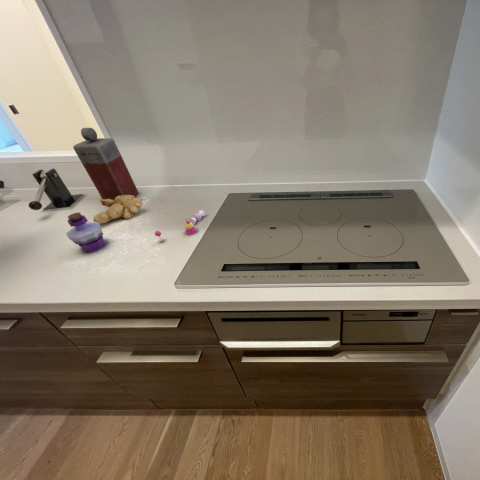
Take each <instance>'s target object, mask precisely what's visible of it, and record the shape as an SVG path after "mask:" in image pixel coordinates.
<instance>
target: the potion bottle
mask: <svg viewBox="0 0 480 480" xmlns="http://www.w3.org/2000/svg"><path fill="white" fill-rule="evenodd" d="M67 219H68V220H67V223H68V224H69V226H70V227H72V228H71V229H70V230H68V231H67V232H66V233H65V234H66V236H67V238H68V239H69V240H70V241H71V242H73V243H74V244H75V245H78V246H79V247H80V248H81V249H82V250H83V251H85V252H86V253H91V252H97V251H99V250H101V249H102V248H103V247H104V246H105V245H106V242H105V239H104V233H103V229H102V226H101V224H100V223H98V222H94V221H91V222H89V220H88V219H87V217H86V216H85V215H82V213H81V212H74V213H71V214H69V215H68V216H67Z"/></svg>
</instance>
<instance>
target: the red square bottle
mask: <svg viewBox="0 0 480 480" xmlns="http://www.w3.org/2000/svg"><path fill="white" fill-rule="evenodd" d="M80 135H81V137H82V138H83V139H84V140H83V141H81V142H78V143H76V144H74V145H73V147H72V148H73V150H74V152H75V154H76V156H77V157H78V159H79V162H81V164H82V166H83V168H84V169H85V171H86V173H87V175H88V176H89V179H90V180H91V182H92V183H93V185H94V187H95V189H96V190H97V192H98V194H99V196H100V198H101V200H102V199H111V200H115V198H116V197H117V196H120V195H132V196H135V198H137V197H138V196H139V195H140V192H139V190H138V188H137V185H136V183H135V182H134V179H133V177H132V176H131V173H130V171H129V169H128V166H127V164H126V163H125V161H124V159H123V156H122V155H121V152H120V150H119V148H118V145H117V143H116V142H115V140H114V139H113V138H110V137H102V138H101V137H100V138H99V137H98V133H97V131H96V130H95V129H94V128H92V127H82V128H81V130H80Z"/></svg>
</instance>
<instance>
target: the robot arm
mask: <svg viewBox="0 0 480 480" xmlns="http://www.w3.org/2000/svg"><path fill="white" fill-rule="evenodd" d="M0 189H1V190H2V189H5V181H4V180H0Z"/></svg>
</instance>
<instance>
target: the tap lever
mask: <svg viewBox="0 0 480 480" xmlns="http://www.w3.org/2000/svg"><path fill="white" fill-rule="evenodd" d="M47 171H48V170H43V171H42V172H41V174H40V177H41V178H42V181H41V184H40V185H39V187H38V189H37V192H36V194H35V197H34V200H32V201H30V202H29V203H28V208H29V209H31V210H33V211H39V210H41V209H43V204H42V203H41V200H42V198H43V195H44V193H45V192H44V190H45V187H46V184H47V182H48V181H50V180H49V179H48V177H47V176H46V174H45V173H46V172H47Z"/></svg>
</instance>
